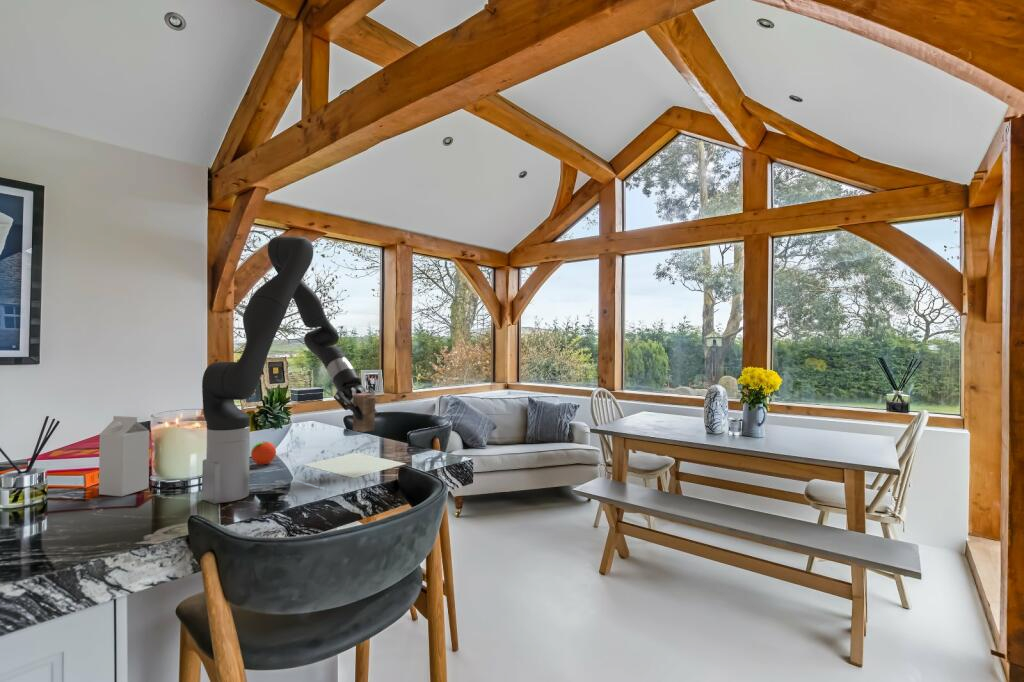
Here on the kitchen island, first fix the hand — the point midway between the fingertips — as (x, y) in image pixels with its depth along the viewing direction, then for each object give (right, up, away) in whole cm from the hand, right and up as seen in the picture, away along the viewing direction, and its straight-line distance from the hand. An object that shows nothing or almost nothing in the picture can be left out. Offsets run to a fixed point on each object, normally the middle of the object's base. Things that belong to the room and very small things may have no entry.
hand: (368, 417), depth 150 cm
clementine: (-34, -15, +4) cm, 37 cm away
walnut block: (-2, -4, +1) cm, 5 cm away
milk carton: (-54, -15, -25) cm, 62 cm away
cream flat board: (-5, -16, +3) cm, 17 cm away
